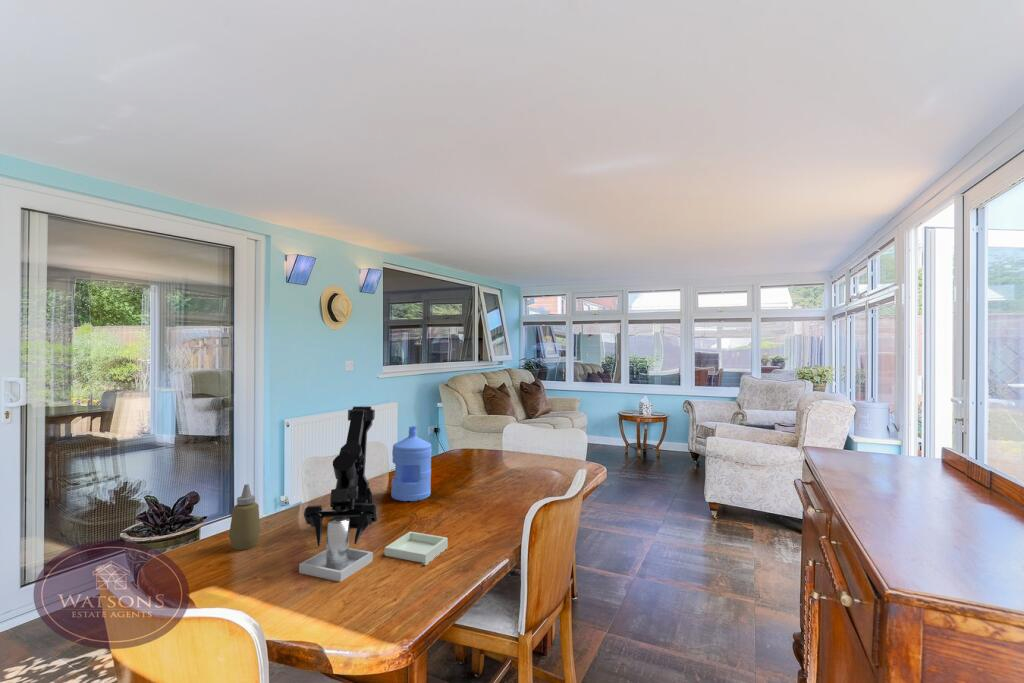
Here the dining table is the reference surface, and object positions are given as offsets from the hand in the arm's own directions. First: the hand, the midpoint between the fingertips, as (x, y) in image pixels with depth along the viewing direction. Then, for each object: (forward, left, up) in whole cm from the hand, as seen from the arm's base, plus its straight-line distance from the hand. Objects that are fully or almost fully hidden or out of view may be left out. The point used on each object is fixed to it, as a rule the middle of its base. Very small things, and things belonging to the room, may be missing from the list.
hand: (337, 544), depth 123 cm
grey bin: (-1, +1, -7) cm, 7 cm away
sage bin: (+13, +18, -7) cm, 24 cm away
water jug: (-18, +65, -7) cm, 68 cm away
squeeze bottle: (-36, +3, -7) cm, 36 cm away
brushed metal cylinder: (-1, +1, -6) cm, 6 cm away
